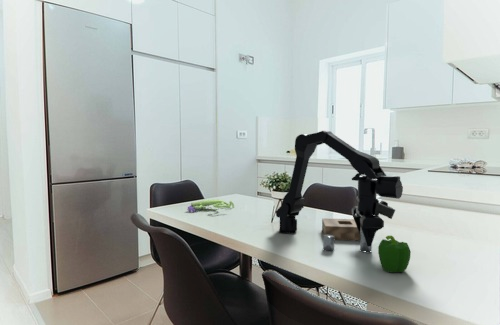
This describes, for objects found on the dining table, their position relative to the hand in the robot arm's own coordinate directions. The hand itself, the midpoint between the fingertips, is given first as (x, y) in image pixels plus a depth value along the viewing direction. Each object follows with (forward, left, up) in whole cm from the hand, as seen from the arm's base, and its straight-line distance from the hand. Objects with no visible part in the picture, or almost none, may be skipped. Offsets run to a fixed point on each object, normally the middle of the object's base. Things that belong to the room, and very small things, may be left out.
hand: (365, 241), depth 105 cm
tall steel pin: (0, 0, -3) cm, 3 cm away
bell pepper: (+4, -15, -3) cm, 16 cm away
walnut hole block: (-4, +17, -3) cm, 18 cm away
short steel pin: (-12, 0, -3) cm, 12 cm away
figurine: (-67, +56, -4) cm, 87 cm away
